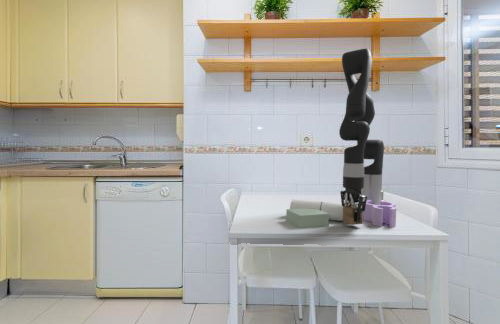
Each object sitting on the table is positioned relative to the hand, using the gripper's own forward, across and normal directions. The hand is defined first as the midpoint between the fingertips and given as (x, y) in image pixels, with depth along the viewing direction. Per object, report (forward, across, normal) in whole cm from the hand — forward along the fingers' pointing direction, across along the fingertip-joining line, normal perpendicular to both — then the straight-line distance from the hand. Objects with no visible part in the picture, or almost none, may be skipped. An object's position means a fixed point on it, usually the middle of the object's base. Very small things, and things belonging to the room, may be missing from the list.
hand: (352, 220), depth 120 cm
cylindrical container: (-1, +22, +15) cm, 27 cm away
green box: (+3, +9, +14) cm, 17 cm away
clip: (+3, +5, -17) cm, 18 cm away
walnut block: (+1, 0, 0) cm, 1 cm away
